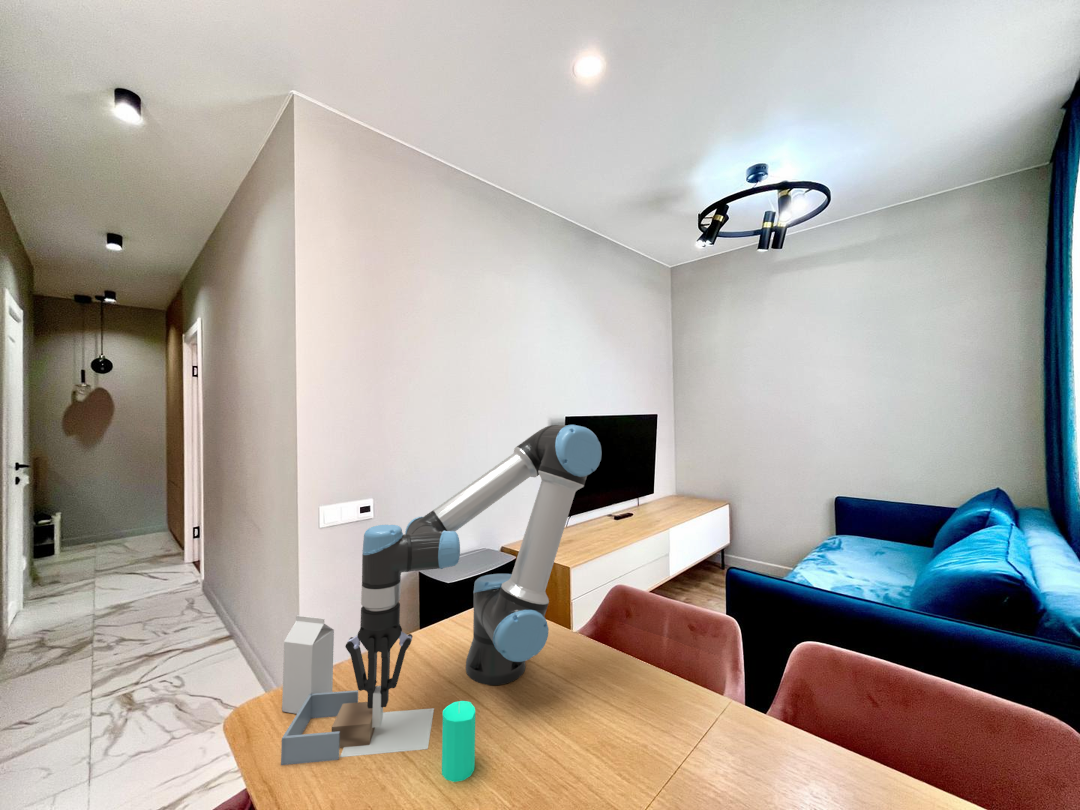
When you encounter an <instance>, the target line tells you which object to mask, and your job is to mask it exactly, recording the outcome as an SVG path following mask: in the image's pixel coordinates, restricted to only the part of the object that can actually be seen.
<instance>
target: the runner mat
mask: <svg viewBox="0 0 1080 810" xmlns="http://www.w3.org/2000/svg"><path fill="white" fill-rule="evenodd" d="M434 710H435V708H433V707H432V708H422V709H408V710H395V711H383V719H382V722H381V725H380V727H375V730H374V733H373V736H372V739H371V742H370V745H364V746H353V747H342V751H341V753H340V754H339V758H346V757H358V756H360V757H361V756H368V755H369V756H370V755H379V754H389V753H401V752H411V751H412V752H413V751H421V750H428V749H429V743H430V738H431V737H430V736H431V733H432V732H431V731H432V723H433V716H434V712H435V711H434Z"/></svg>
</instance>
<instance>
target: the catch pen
mask: <svg viewBox="0 0 1080 810" xmlns="http://www.w3.org/2000/svg"><path fill="white" fill-rule="evenodd" d="M358 702H359V690H358V689H357V690H344V691H332V692H328V693H314V694H309V696H308V697H307V699H306V700H305V702H304V704H303V705H302V707H301V708H300V710H299V712H298V713H297V714H296V715H295V717H294V718H293V720H291V723H290V725H289V726H288V727H287V729H286V731H285V732H284V733H283V736H282V737H281V749H280V750H281V751H280V753H281V755H280V766H286V765H287V766H288V765H297V764H308V763H309V764H310V763H319V762H331V761H339V760H340V731H337V732H332V731H329V732H327V731H326V732H315V733H304V731H305V730H306V728H307V727H308V724H309V722H310V721H311V719H320V718H322V719H323V718H333V717H334V718H335V717H337V715H338V713H339V711H340V709H341V707H342V704H346V703H358ZM303 733H304V734H303Z"/></svg>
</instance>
